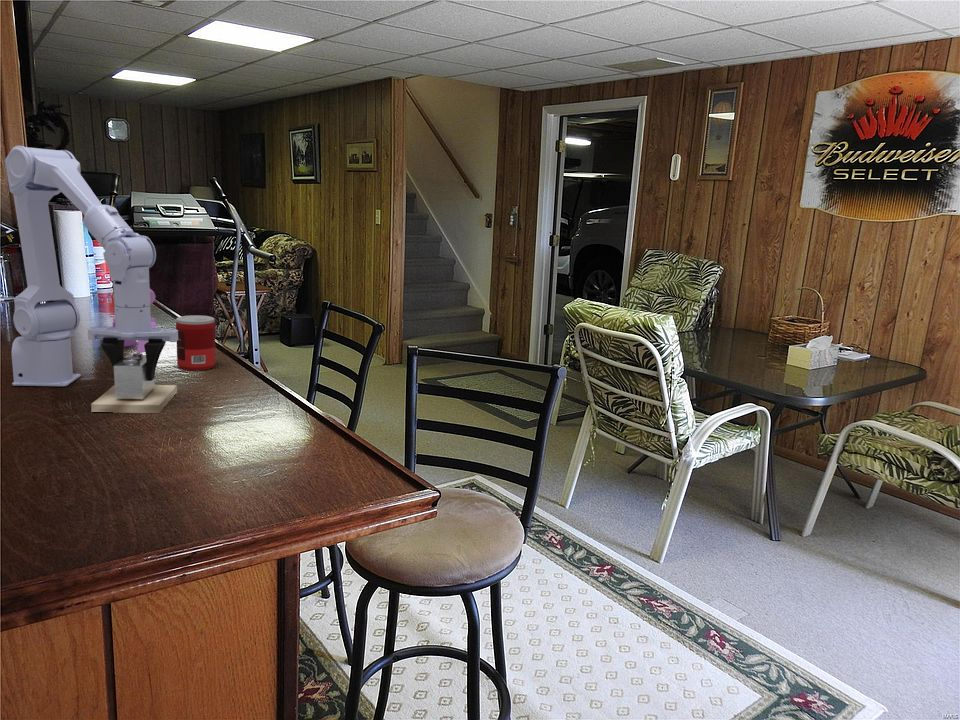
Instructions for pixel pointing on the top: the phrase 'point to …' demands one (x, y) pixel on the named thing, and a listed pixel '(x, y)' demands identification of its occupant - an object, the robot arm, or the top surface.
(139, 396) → the housing
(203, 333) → the canned food
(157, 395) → the stand
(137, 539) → the top surface
